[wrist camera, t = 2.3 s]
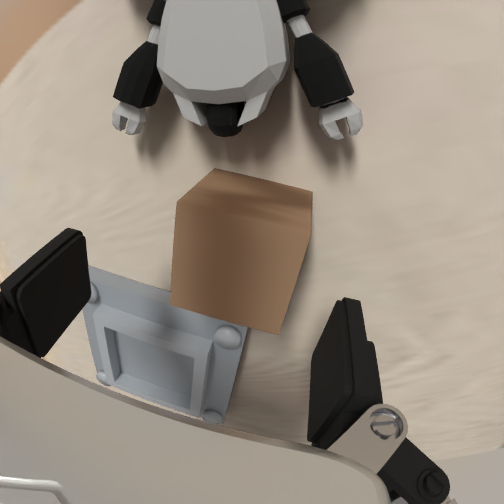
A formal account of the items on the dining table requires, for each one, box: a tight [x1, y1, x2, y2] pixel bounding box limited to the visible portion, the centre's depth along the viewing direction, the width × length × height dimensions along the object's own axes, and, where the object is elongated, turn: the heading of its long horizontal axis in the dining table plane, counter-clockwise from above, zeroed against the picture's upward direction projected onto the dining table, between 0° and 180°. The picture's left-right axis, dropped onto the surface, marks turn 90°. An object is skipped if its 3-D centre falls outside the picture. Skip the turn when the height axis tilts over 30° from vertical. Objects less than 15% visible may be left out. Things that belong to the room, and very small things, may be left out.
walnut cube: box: [170, 169, 312, 335], centre depth 15 cm, size 5×5×5 cm
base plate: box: [83, 266, 248, 424], centre depth 22 cm, size 12×12×2 cm
